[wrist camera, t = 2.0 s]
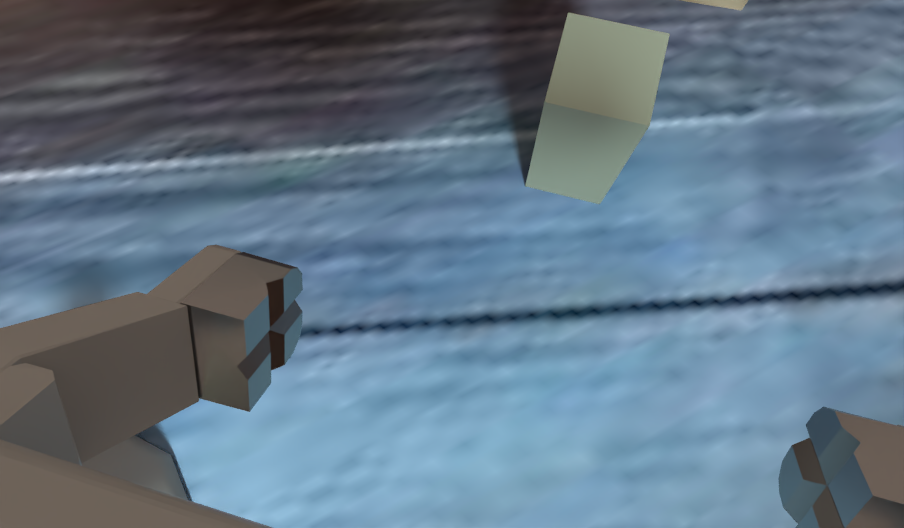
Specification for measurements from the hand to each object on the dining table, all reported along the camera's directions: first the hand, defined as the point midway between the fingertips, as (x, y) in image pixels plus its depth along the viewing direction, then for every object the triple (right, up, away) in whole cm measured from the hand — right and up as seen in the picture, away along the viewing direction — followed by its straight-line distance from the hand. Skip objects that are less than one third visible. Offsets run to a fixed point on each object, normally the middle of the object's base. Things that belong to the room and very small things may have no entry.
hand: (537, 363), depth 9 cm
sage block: (+5, +7, +22) cm, 24 cm away
